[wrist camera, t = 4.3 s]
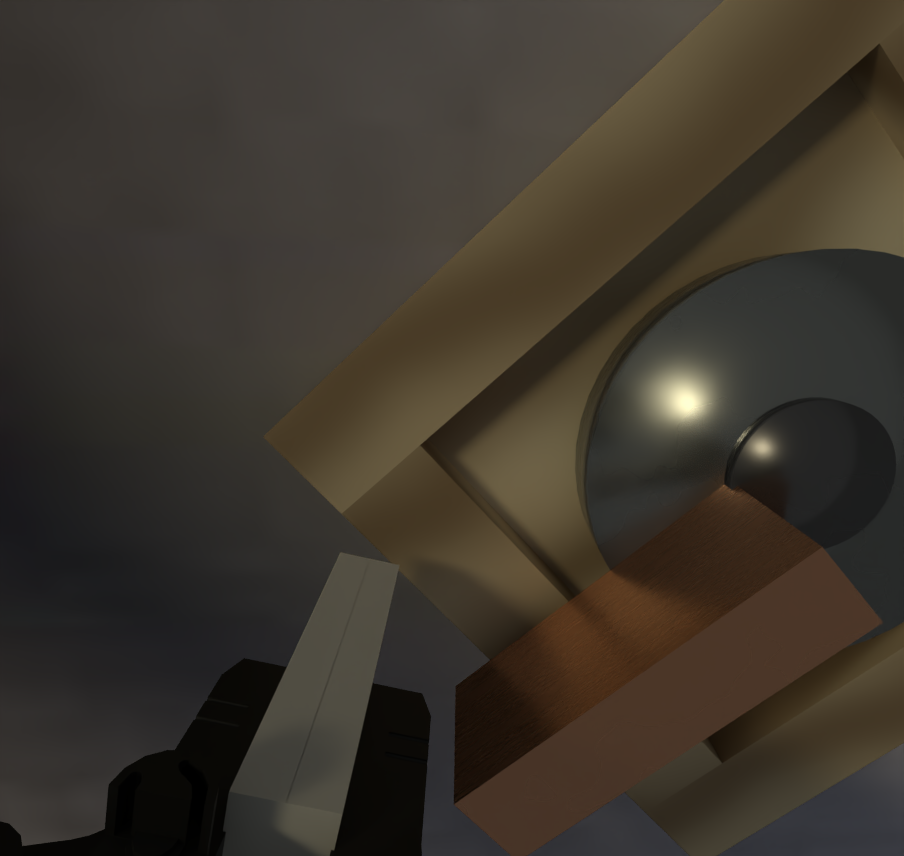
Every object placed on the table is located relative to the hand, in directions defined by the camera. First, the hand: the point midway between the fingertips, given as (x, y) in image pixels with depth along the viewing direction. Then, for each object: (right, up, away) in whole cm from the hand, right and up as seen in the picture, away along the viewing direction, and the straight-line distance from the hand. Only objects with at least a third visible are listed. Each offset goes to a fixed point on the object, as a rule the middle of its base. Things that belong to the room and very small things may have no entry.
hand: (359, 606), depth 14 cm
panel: (+11, +4, +4) cm, 13 cm away
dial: (+9, +2, +2) cm, 10 cm away
